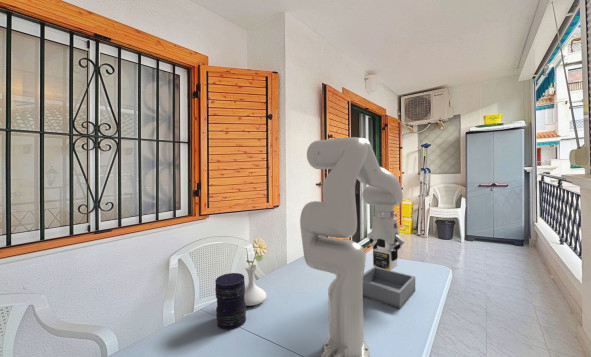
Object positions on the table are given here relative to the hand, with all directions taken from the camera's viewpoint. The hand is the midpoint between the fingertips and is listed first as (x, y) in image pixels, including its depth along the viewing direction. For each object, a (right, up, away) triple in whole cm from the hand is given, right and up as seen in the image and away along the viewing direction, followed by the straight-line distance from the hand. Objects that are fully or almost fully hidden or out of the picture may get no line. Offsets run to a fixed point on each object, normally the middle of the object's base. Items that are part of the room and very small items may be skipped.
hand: (385, 257), depth 106 cm
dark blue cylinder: (-59, -17, -17) cm, 63 cm away
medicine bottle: (0, -4, 0) cm, 4 cm away
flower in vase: (-53, -17, -3) cm, 56 cm away
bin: (0, -15, +1) cm, 15 cm away
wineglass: (-9, -14, +35) cm, 39 cm away
